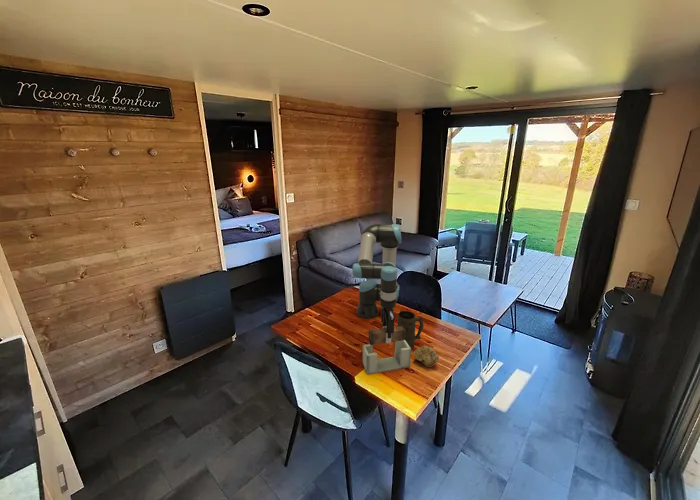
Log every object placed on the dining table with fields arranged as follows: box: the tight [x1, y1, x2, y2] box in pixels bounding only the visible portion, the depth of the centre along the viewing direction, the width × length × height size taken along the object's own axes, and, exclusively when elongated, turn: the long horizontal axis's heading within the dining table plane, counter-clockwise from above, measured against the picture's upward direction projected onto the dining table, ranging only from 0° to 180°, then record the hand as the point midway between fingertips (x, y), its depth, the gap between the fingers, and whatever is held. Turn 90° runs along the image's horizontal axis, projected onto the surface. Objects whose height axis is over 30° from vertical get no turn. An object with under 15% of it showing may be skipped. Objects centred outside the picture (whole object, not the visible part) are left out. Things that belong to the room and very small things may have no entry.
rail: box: [367, 326, 405, 346], centre depth 150 cm, size 18×4×6 cm, turn 103°
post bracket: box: [361, 340, 412, 376], centre depth 154 cm, size 9×23×11 cm, turn 103°
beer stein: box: [396, 310, 424, 350], centre depth 170 cm, size 15×11×20 cm
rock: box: [412, 345, 440, 368], centre depth 155 cm, size 12×10×10 cm
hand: (386, 339), depth 151 cm, fingers closed on rail, 4 cm apart
